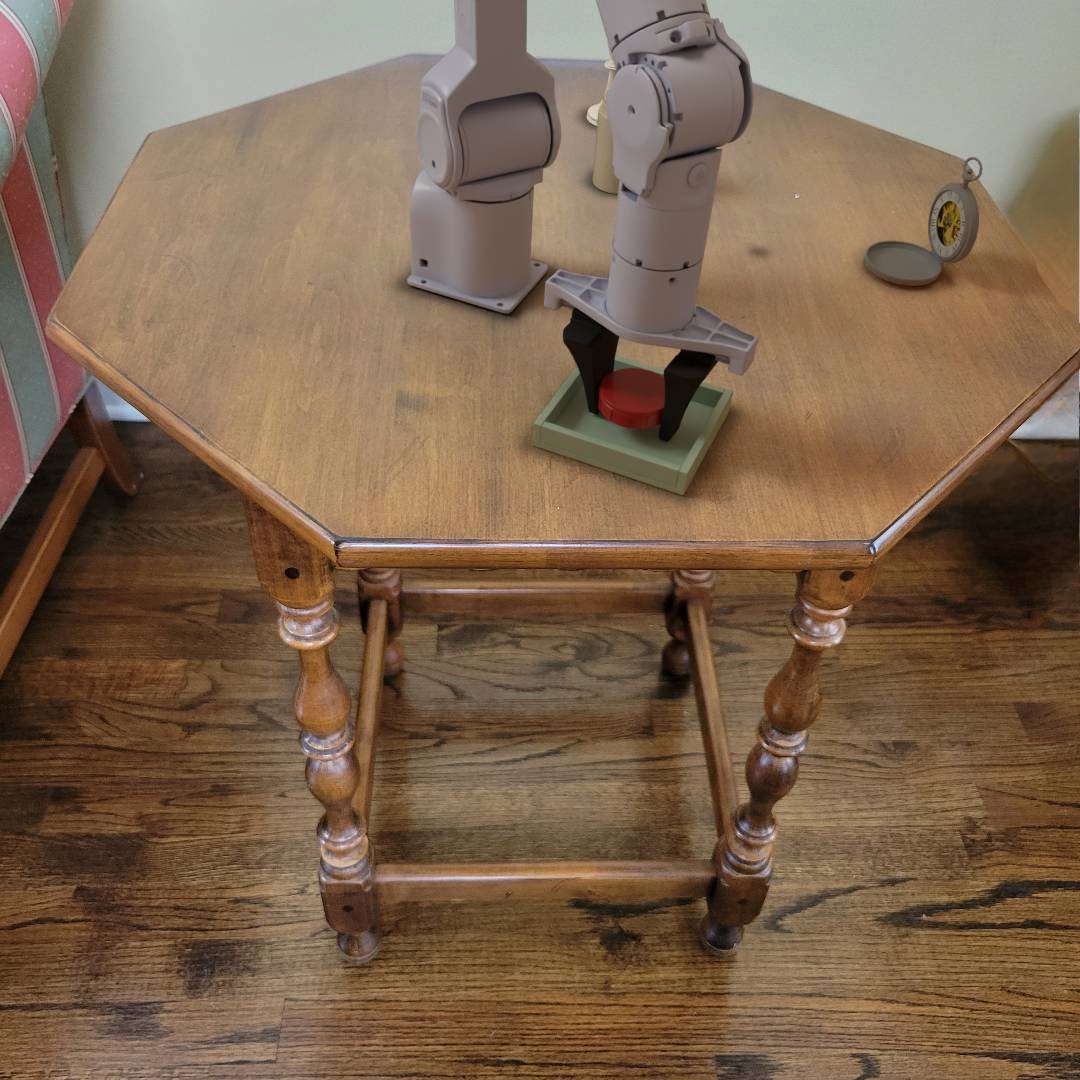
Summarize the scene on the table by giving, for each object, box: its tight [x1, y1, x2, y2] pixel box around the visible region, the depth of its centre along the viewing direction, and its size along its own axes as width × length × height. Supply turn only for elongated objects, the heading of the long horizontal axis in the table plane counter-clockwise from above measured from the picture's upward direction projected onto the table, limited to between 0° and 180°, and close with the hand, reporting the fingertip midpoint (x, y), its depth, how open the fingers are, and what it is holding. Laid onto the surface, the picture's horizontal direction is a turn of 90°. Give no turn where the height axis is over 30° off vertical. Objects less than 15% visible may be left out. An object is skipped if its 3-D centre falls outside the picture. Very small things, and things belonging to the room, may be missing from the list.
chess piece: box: [586, 39, 617, 127], centre depth 110 cm, size 5×5×10 cm
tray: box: [532, 355, 734, 496], centre depth 76 cm, size 11×10×2 cm
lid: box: [598, 368, 665, 429], centre depth 74 cm, size 5×5×2 cm
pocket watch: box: [863, 156, 984, 287], centre depth 91 cm, size 8×8×10 cm
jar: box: [591, 93, 619, 195], centre depth 100 cm, size 5×5×8 cm
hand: (633, 419), depth 76 cm, fingers closed on lid, 5 cm apart
